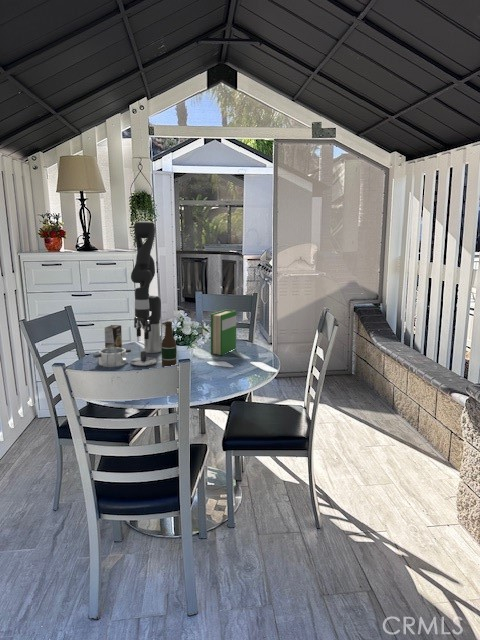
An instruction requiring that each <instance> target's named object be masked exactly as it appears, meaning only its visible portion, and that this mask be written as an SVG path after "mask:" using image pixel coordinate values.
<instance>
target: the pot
mask: <svg viewBox="0 0 480 640" xmlns="http://www.w3.org/2000/svg"><path fill="white" fill-rule="evenodd" d="M131 352H132V350H131V349H130V348H124V347H122V348H118V347H112V348H105V347H104V348H102V349H98V353H96V354H95V353H94V354H93V356H92V357H93V358H94V359H97V358H98V366H100V367H102V366H103V368H118V367H122V366H124V365H127V353H131Z"/></svg>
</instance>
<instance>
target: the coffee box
mask: <svg viewBox="0 0 480 640" xmlns="http://www.w3.org/2000/svg"><path fill="white" fill-rule="evenodd" d="M122 336H123V335H122V325H120V324H119V325H117V324H111V325H108V326H106V327H104V345H105V347H104V348H112V347H118V348H123V339H122Z"/></svg>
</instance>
